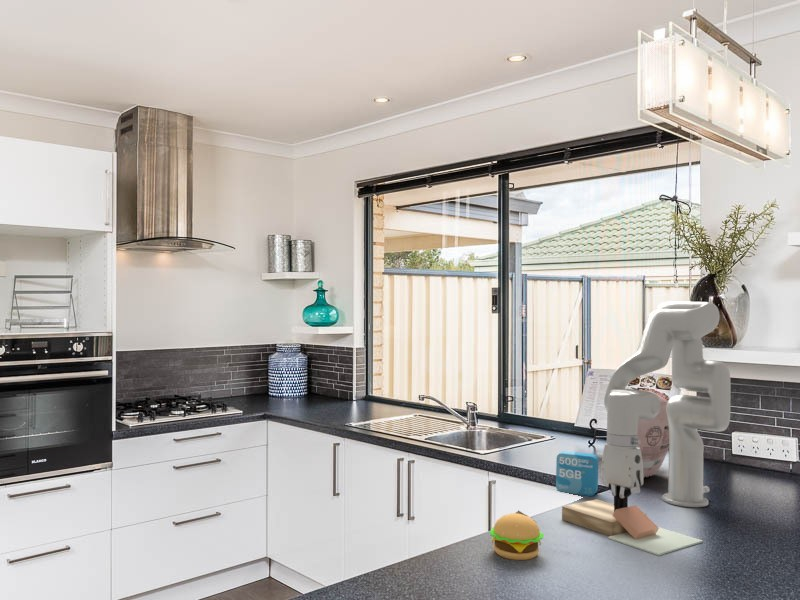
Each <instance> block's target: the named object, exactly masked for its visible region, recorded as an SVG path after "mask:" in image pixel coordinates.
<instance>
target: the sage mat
mask: <svg viewBox="0 0 800 600" xmlns="http://www.w3.org/2000/svg"><path fill="white" fill-rule="evenodd" d="M657 527H658V528H659V529H658V531H657V533H656V534H654V535H650V536H646V537H642V538H638V539H635V538H634V537H633V536H632V535H631V534H630V533H629V532H624V533H621V534H617V535H613V536H609V535H608V537H607V538H608V539H609V540H612V541H615V542H617V543H620V544H624V545H626V546H629V547H632V548H636V549H638V550H641V551H643V552H647V553H650V554H652V555H656V556H658V557H659V556H661V555H666V554H669V553H671V552H675V551H678V550H681V549H682V550H683V549H684V548H689V547H691V546H694V545H695V546H696V545H698V544H701V543H703V542H704V541H703V539H699V538H697V537H696V538H695V537H692V536H689V535H686V534H683V533H679V532H676V531H673V530H669V529H667V528H664V527H660V526H657Z"/></svg>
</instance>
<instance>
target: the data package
mask: <svg viewBox="0 0 800 600" xmlns="http://www.w3.org/2000/svg"><path fill="white" fill-rule="evenodd" d="M555 466H556V468H555V477H556V478H555V488H556V490H557V491H558V492H559V493H564V494H565V493H566V494H572V495H580V496H585V497H586V496H587V497H588V496H589V497H593V496H594V495H596V493H597V492H598V488H599V457H598V455H596V454H594V453H586V452H576V451H570V450H567V451H566V450H563V451H560V452H559V453H558V454H557V456H556V465H555Z"/></svg>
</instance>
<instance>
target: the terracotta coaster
mask: <svg viewBox="0 0 800 600" xmlns="http://www.w3.org/2000/svg"><path fill="white" fill-rule="evenodd" d="M645 514H646V513H645ZM645 514H644V511H642V510H641V509H640V508H639V507H638V506H637V505H635V504H634V505H630V506H628V507H625V508H620V509H616V510H615V512H614V513H613V517H614V518H615V519H616V520H617V521H618V522H619V523H620V524H621V525H622V526H623V527H624V528H625V529H626V530H627V531H628V532H629V533H630V534H631V535H632V536H633V537H634V538H635V539H638V538H642V537H646V536H650V535H654V534H656V533H657V531H658V529H659V528H658V527H659V526H658V525H657V524H655V523H654V521H652V519H650V517H648V516H647V514H646V515H645Z"/></svg>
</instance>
